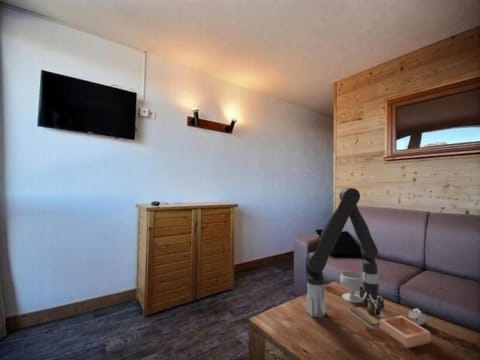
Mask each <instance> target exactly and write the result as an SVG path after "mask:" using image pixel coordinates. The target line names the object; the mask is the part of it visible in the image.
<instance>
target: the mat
mask: <svg viewBox="0 0 480 360" xmlns="http://www.w3.org/2000/svg"><path fill="white" fill-rule="evenodd" d="M350 309H351V308H349V309H347V311H348V312H349V313H351V314H352V315H354V316H355V317H356V318H357V319H359V320H360V321H361V322H363V323H364V324H366V325H367V326H368V327H370V328H377V327H380V324H379V325H375V326H371V325H369V324H368V323H367V322H365V321H364V320H362V319H361V318H360V317H358V316H357V315H356V314H354V313H353V312H352V311H350Z"/></svg>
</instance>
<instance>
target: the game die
mask: <svg viewBox="0 0 480 360" xmlns="http://www.w3.org/2000/svg"><path fill="white" fill-rule="evenodd" d="M409 309H410V310H409ZM409 309H407V312H408V316H406V318H407V319H409V320H410V321H412V322H414V323H416V324H417V325H419V326H421V325H425V324H426V325H428V322H427V317H429V315H426V314H425V313H424V311H421V310H420V309H419V307H418V306H416V308H413V309H412V308H409Z"/></svg>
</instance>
